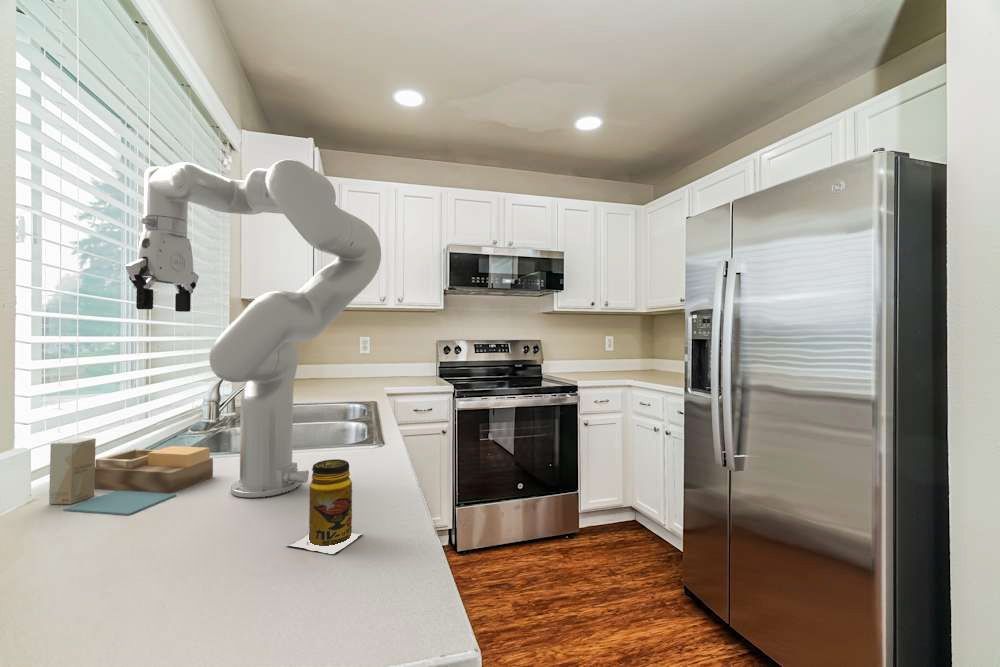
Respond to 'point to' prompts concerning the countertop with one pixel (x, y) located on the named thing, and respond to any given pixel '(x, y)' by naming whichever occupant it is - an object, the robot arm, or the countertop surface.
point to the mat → (120, 502)
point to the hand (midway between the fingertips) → (164, 310)
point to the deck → (146, 473)
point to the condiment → (330, 503)
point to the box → (72, 470)
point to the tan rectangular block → (178, 456)
